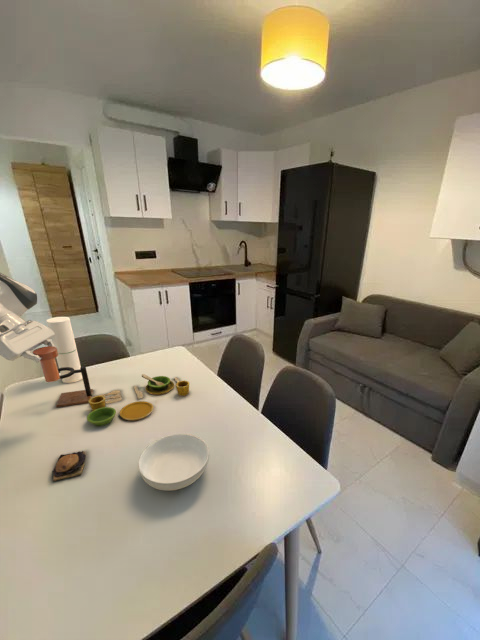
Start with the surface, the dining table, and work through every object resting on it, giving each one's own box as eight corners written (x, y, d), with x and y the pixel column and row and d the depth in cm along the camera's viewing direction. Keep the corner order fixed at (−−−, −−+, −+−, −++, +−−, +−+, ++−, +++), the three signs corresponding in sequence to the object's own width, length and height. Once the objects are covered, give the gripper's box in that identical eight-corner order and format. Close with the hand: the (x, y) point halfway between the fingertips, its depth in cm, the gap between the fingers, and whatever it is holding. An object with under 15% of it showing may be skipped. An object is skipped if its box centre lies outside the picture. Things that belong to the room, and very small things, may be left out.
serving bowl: (209, 446, 102) (209, 430, 100) (209, 496, 83) (209, 479, 81) (147, 451, 99) (145, 435, 96) (133, 505, 80) (130, 487, 77)
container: (59, 379, 140) (43, 319, 128) (77, 372, 146) (64, 315, 134) (67, 384, 135) (51, 323, 123) (86, 377, 142) (73, 319, 130)
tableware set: (179, 377, 147) (178, 366, 144) (198, 405, 125) (197, 392, 123) (86, 398, 127) (83, 385, 124) (89, 435, 105) (85, 421, 103)
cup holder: (54, 407, 119) (45, 376, 113) (59, 395, 127) (51, 365, 121) (90, 402, 123) (83, 372, 117) (93, 390, 132) (87, 362, 126)
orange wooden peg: (38, 385, 101) (29, 355, 96) (44, 375, 107) (36, 347, 102) (61, 382, 103) (53, 352, 99) (66, 373, 109) (58, 345, 105)
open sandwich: (83, 475, 88) (80, 466, 87) (50, 482, 85) (47, 473, 84) (88, 451, 97) (86, 443, 96) (58, 457, 94) (55, 448, 93)
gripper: (27, 324, 107) (61, 349, 112) (-21, 345, 88) (22, 374, 93) (36, 313, 106) (70, 339, 110) (-10, 332, 87) (32, 362, 91)
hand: (48, 355), depth 101 cm, fingers closed on orange wooden peg, 7 cm apart
